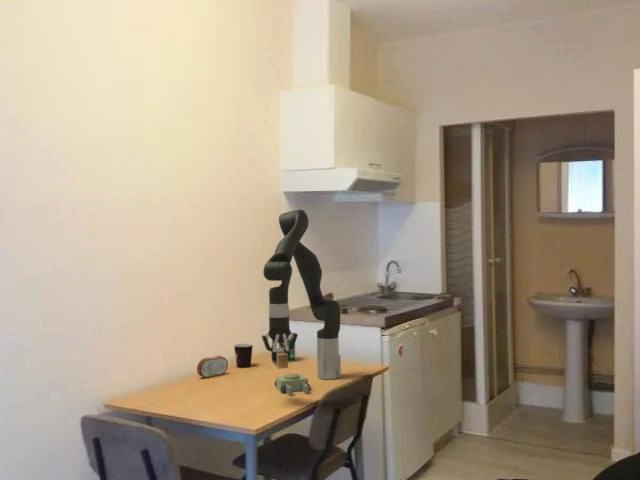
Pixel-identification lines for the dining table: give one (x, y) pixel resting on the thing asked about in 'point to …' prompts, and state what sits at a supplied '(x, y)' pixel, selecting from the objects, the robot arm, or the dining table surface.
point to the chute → (281, 359)
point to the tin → (212, 366)
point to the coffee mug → (243, 355)
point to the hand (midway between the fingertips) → (280, 361)
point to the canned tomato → (291, 351)
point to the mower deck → (292, 383)
